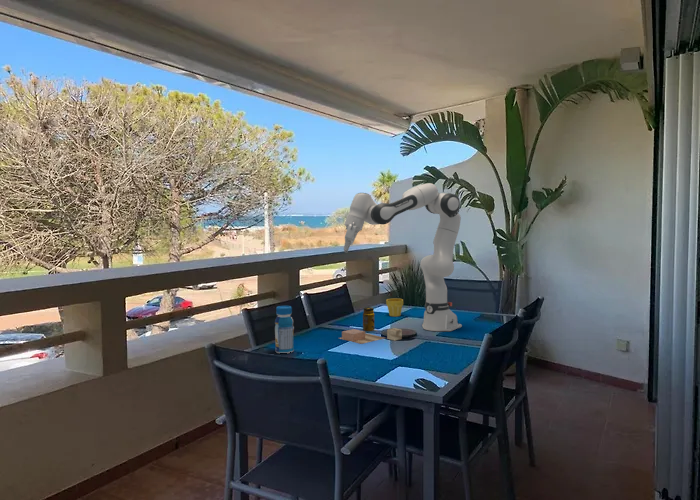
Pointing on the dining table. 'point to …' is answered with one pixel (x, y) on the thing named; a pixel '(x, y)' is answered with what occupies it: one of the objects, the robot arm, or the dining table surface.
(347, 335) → the terracotta block
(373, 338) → the cork placemat
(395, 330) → the maple cube
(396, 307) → the plant pot
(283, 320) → the beverage bottle
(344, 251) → the robot arm
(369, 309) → the condiment
